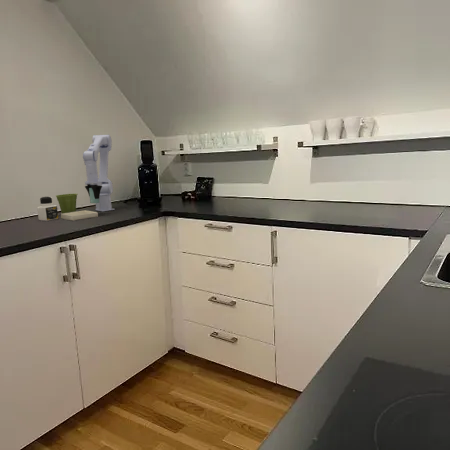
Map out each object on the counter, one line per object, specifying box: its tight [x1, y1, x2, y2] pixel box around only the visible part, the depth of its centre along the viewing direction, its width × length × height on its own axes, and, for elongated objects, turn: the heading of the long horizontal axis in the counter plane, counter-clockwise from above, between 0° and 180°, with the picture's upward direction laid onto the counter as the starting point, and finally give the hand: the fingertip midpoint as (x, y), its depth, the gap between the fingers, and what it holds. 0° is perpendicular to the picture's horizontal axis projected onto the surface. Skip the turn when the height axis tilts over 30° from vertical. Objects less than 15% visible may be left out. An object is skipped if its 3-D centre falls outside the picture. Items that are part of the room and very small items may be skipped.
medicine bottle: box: [36, 196, 59, 222], centre depth 235 cm, size 7×7×12 cm
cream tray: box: [60, 210, 99, 222], centre depth 236 cm, size 14×14×2 cm
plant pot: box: [55, 193, 78, 214], centre depth 249 cm, size 12×12×11 cm
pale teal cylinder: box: [89, 188, 100, 204], centre depth 241 cm, size 5×5×8 cm
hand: (94, 198), depth 242 cm, fingers closed on pale teal cylinder, 5 cm apart
